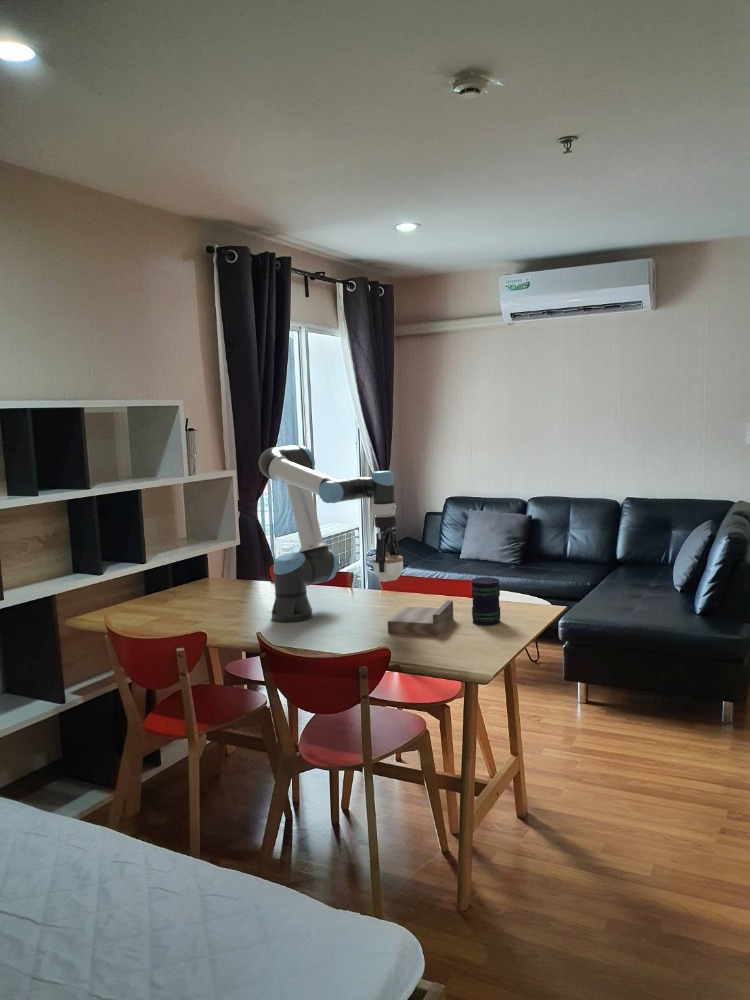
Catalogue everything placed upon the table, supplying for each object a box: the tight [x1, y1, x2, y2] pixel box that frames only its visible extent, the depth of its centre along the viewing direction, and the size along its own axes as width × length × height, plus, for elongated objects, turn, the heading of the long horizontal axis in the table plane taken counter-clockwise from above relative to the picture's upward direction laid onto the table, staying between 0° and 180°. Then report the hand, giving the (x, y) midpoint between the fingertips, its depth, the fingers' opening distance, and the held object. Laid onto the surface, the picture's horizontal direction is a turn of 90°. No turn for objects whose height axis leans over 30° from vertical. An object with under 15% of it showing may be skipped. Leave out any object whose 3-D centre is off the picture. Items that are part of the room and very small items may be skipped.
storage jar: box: [470, 576, 501, 627], centre depth 268 cm, size 10×10×15 cm
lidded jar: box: [372, 552, 404, 582], centre depth 269 cm, size 11×11×9 cm
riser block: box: [387, 600, 455, 636], centre depth 267 cm, size 18×20×7 cm
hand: (388, 578), depth 269 cm, fingers closed on lidded jar, 11 cm apart
